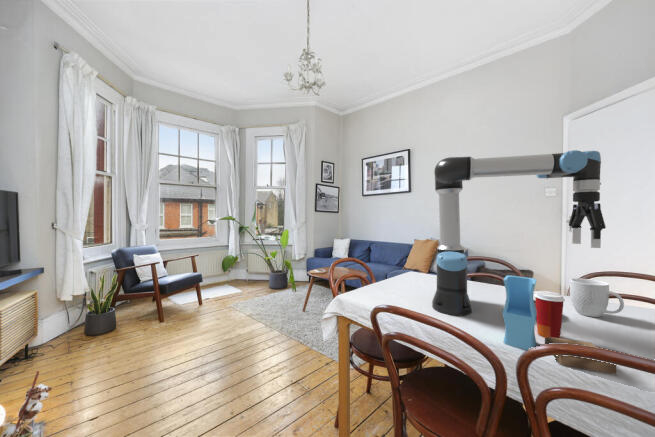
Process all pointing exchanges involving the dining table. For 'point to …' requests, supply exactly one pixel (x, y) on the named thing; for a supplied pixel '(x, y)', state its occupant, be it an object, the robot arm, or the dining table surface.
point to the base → (580, 361)
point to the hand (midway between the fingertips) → (585, 245)
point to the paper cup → (549, 313)
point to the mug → (592, 297)
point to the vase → (519, 312)
